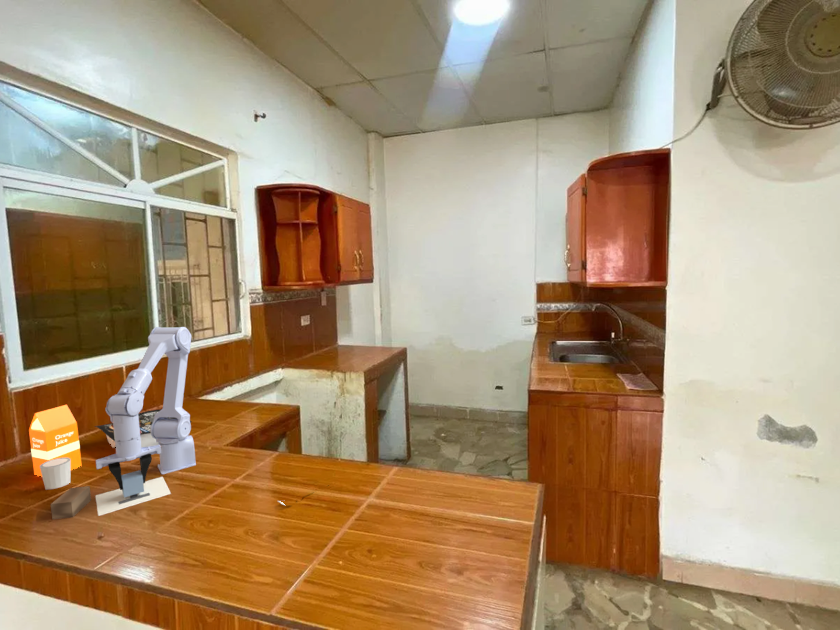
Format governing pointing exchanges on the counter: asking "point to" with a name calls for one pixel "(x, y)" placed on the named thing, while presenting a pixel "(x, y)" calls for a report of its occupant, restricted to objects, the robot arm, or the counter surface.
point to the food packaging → (145, 427)
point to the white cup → (56, 472)
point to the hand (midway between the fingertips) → (132, 485)
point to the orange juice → (54, 437)
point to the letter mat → (118, 501)
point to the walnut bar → (70, 502)
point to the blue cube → (132, 483)
